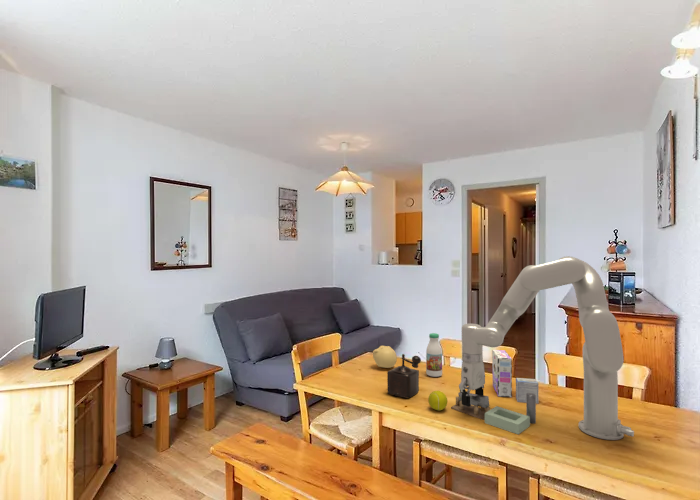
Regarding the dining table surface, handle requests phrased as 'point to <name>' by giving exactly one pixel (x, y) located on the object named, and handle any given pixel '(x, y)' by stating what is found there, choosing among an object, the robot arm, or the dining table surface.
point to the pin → (531, 407)
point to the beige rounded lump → (385, 356)
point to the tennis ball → (437, 400)
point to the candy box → (502, 373)
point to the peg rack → (471, 409)
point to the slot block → (507, 420)
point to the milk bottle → (434, 356)
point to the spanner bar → (477, 400)
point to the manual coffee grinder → (404, 379)
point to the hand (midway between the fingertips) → (472, 401)
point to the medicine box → (526, 389)
